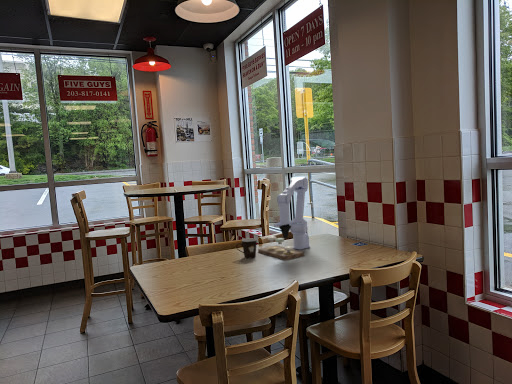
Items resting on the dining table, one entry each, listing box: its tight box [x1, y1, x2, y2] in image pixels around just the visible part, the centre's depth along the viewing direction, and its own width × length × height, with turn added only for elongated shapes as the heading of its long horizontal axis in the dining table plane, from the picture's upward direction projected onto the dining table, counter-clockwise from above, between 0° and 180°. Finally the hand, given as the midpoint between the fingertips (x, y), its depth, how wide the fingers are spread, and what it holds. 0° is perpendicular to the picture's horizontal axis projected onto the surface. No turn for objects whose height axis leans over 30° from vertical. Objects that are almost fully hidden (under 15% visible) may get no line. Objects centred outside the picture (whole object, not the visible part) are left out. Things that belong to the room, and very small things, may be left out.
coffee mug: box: [235, 237, 258, 259], centre depth 220 cm, size 12×9×10 cm
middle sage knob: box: [275, 237, 285, 245], centre depth 224 cm, size 5×5×3 cm
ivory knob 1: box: [267, 235, 277, 243], centre depth 230 cm, size 5×5×3 cm
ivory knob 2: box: [283, 245, 294, 253], centre depth 217 cm, size 5×5×3 cm
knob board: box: [257, 245, 305, 261], centre depth 224 cm, size 14×26×2 cm, turn 34°
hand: (285, 237), depth 219 cm, fingers closed
